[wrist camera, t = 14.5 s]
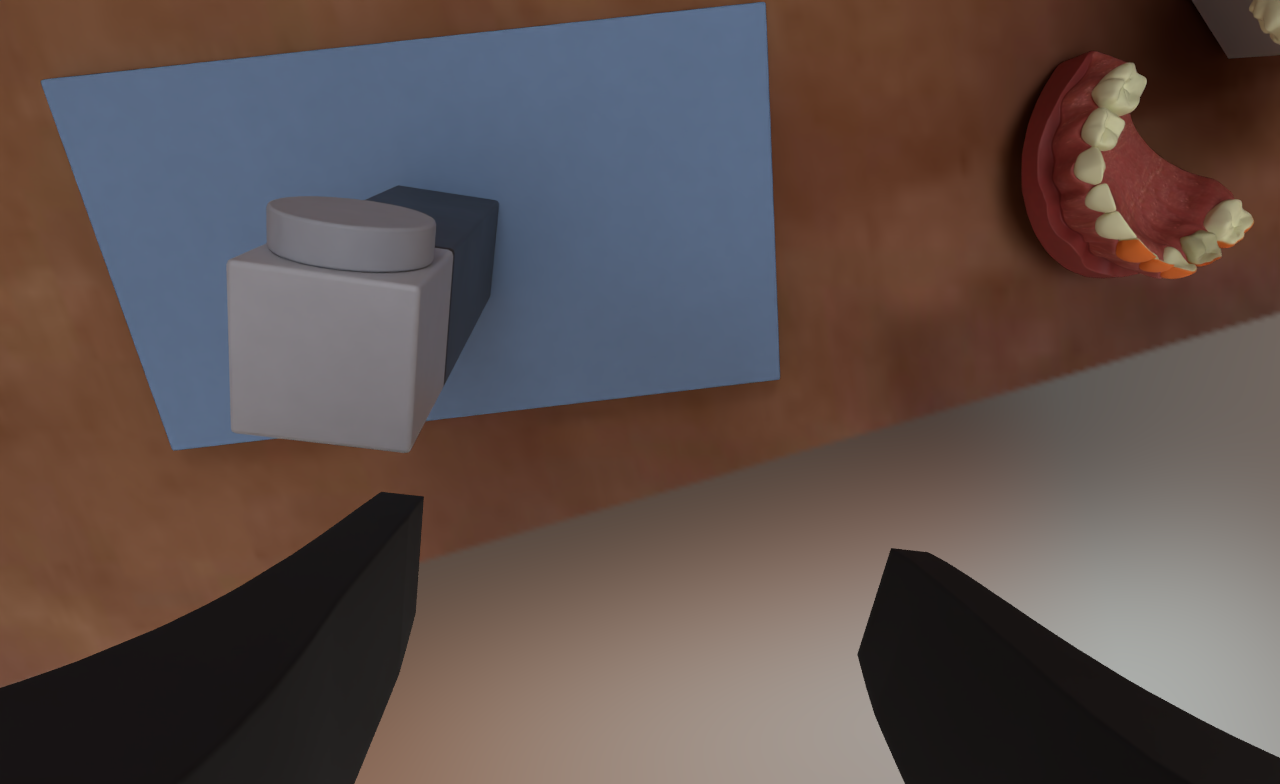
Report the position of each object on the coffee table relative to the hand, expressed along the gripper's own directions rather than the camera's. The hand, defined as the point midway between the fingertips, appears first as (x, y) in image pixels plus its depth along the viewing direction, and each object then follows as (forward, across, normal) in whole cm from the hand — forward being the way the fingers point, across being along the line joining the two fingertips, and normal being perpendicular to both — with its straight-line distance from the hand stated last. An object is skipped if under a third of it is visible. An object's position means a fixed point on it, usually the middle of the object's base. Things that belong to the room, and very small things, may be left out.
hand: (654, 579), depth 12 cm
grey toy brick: (+9, +5, -3) cm, 11 cm away
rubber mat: (+9, +5, -3) cm, 11 cm away
